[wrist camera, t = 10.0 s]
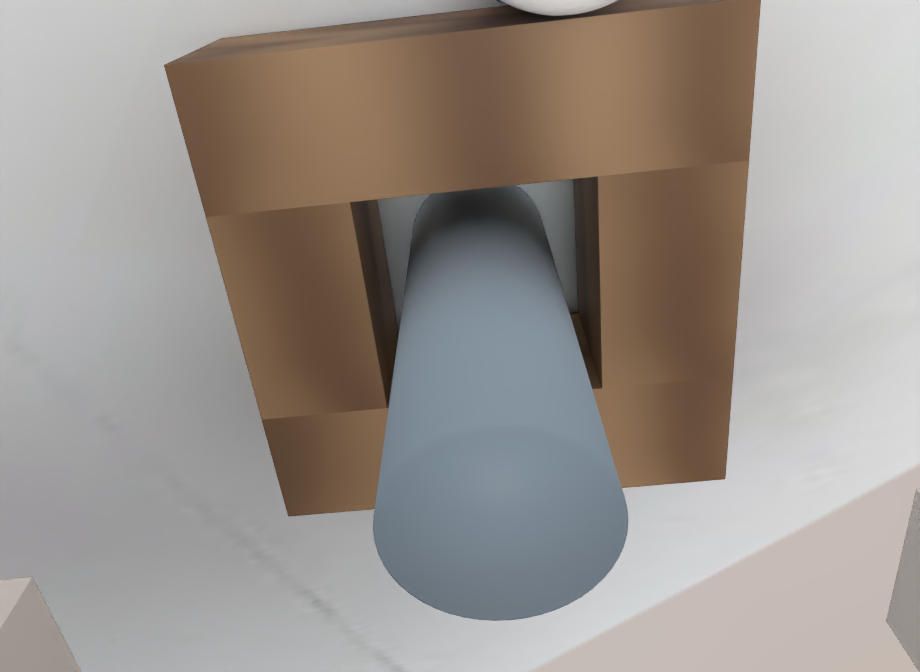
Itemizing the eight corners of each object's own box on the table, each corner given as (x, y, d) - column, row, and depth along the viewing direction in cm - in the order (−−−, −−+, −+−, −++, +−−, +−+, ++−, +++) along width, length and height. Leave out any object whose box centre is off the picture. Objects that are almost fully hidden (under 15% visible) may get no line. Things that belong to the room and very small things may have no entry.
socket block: (313, 427, 29) (288, 516, 25) (221, 38, 22) (163, 65, 18) (683, 393, 28) (725, 479, 24) (699, -17, 22) (760, -3, 17)
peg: (421, 303, 27) (392, 629, 14) (403, 182, 25) (352, 439, 12) (547, 291, 26) (628, 610, 14) (540, 167, 24) (627, 414, 12)
